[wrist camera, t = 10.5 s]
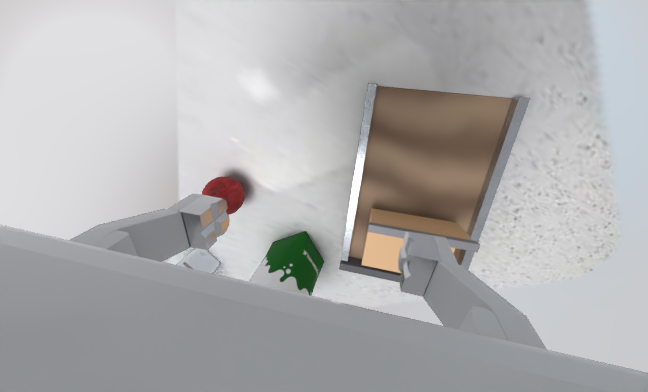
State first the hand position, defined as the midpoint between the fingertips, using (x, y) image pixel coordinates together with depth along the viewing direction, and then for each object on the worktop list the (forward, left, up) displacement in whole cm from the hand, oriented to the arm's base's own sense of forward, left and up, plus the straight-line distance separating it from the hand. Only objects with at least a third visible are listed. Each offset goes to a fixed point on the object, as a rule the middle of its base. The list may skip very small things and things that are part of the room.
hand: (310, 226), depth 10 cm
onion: (+11, -18, -23) cm, 32 cm away
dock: (+6, +9, -23) cm, 26 cm away
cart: (+13, +9, -21) cm, 26 cm away
